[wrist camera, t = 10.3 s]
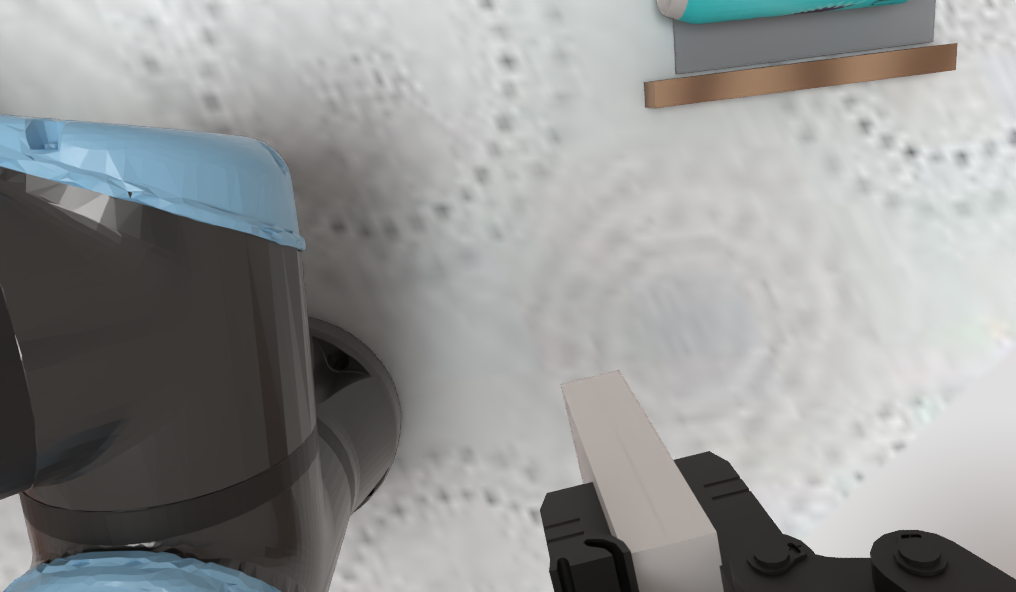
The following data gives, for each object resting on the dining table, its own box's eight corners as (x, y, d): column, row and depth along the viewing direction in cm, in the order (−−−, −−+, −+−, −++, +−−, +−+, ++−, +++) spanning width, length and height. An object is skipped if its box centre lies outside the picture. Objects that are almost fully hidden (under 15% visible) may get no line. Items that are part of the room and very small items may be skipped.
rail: (645, 107, 42) (655, 108, 40) (643, 82, 42) (654, 81, 39) (928, 71, 42) (955, 69, 40) (930, 46, 42) (957, 43, 40)
